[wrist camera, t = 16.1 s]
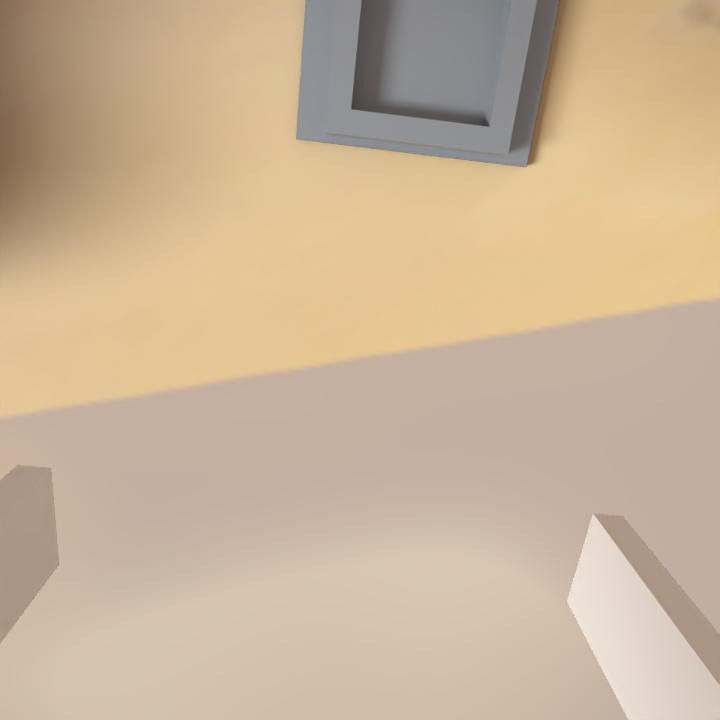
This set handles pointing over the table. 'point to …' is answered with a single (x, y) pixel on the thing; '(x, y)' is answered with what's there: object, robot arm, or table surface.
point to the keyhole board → (426, 75)
